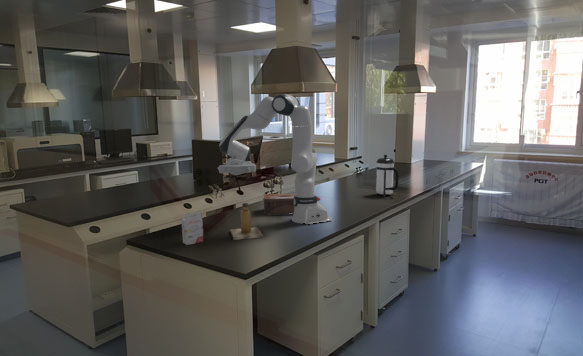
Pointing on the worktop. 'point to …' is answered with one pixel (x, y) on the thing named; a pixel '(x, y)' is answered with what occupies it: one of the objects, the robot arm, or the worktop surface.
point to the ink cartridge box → (192, 228)
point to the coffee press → (385, 176)
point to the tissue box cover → (278, 203)
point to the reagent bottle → (245, 219)
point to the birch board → (253, 234)
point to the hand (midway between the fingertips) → (239, 170)
